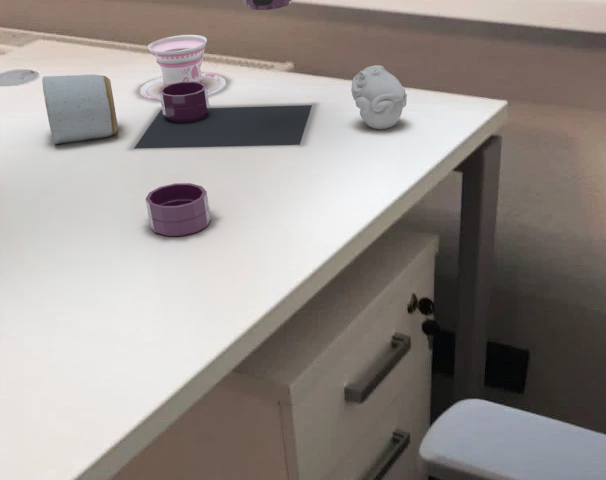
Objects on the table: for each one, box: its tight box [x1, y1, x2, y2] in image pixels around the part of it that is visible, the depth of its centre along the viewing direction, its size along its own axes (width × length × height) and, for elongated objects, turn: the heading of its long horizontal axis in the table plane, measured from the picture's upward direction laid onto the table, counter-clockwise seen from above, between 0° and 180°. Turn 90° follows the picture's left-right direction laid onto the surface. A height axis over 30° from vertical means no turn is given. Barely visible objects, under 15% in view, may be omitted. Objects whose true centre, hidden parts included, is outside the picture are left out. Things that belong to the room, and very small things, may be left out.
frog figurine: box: [350, 64, 408, 130], centre depth 104 cm, size 6×7×7 cm
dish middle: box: [144, 182, 211, 237], centre depth 87 cm, size 6×6×3 cm
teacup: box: [139, 34, 227, 102], centre depth 121 cm, size 12×12×6 cm
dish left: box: [158, 81, 211, 123], centre depth 112 cm, size 6×6×3 cm
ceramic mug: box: [42, 73, 119, 145], centre depth 109 cm, size 11×8×8 cm
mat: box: [133, 104, 313, 150], centre depth 109 cm, size 20×14×1 cm
